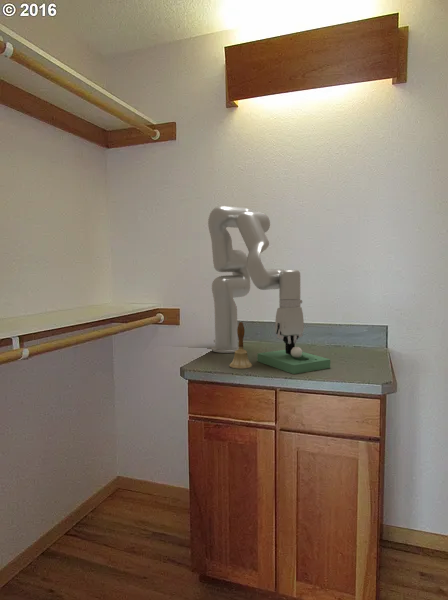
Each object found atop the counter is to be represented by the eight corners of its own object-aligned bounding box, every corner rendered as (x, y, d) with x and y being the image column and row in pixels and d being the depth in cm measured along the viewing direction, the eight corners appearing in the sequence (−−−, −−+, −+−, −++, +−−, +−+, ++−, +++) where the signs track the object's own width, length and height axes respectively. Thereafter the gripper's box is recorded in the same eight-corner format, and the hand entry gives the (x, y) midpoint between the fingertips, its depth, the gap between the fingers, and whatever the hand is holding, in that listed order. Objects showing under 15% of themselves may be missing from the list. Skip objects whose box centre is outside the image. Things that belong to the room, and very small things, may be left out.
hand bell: (256, 364, 158) (256, 321, 157) (245, 369, 151) (245, 324, 150) (236, 362, 162) (235, 320, 161) (225, 367, 155) (224, 323, 154)
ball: (294, 360, 153) (288, 356, 156) (304, 358, 154) (298, 355, 158) (294, 349, 152) (288, 346, 156) (304, 347, 153) (298, 344, 157)
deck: (257, 361, 164) (257, 353, 163) (291, 356, 171) (291, 348, 171) (293, 374, 144) (293, 365, 144) (330, 367, 152) (330, 359, 152)
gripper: (299, 301, 164) (299, 349, 166) (266, 304, 157) (267, 354, 158) (312, 303, 157) (312, 353, 159) (279, 306, 150) (279, 358, 152)
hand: (290, 353), depth 159 cm, fingers closed
